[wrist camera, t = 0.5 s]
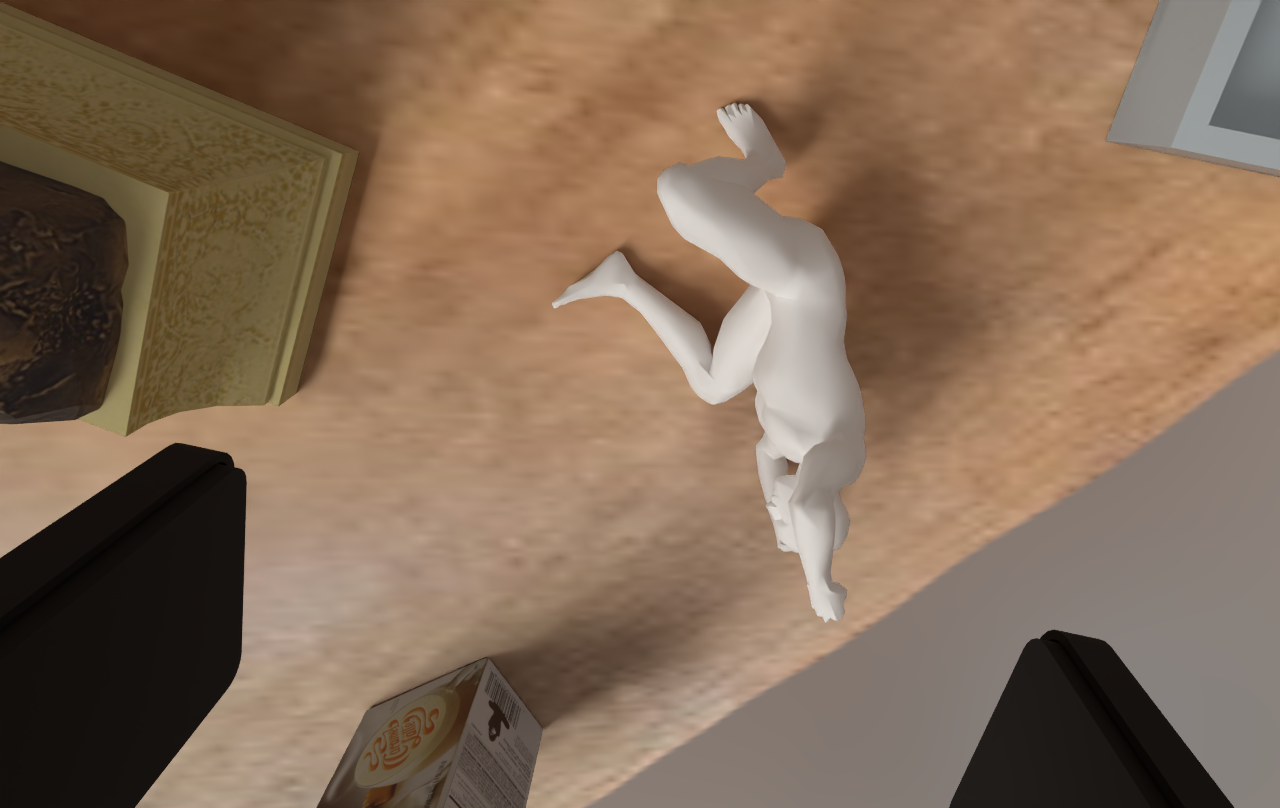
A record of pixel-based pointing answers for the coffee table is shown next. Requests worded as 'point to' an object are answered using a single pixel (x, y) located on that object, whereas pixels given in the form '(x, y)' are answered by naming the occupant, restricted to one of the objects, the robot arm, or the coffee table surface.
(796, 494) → the person figurine
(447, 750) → the coffee box
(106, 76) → the decorative clock
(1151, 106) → the grey square box
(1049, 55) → the coffee table surface
